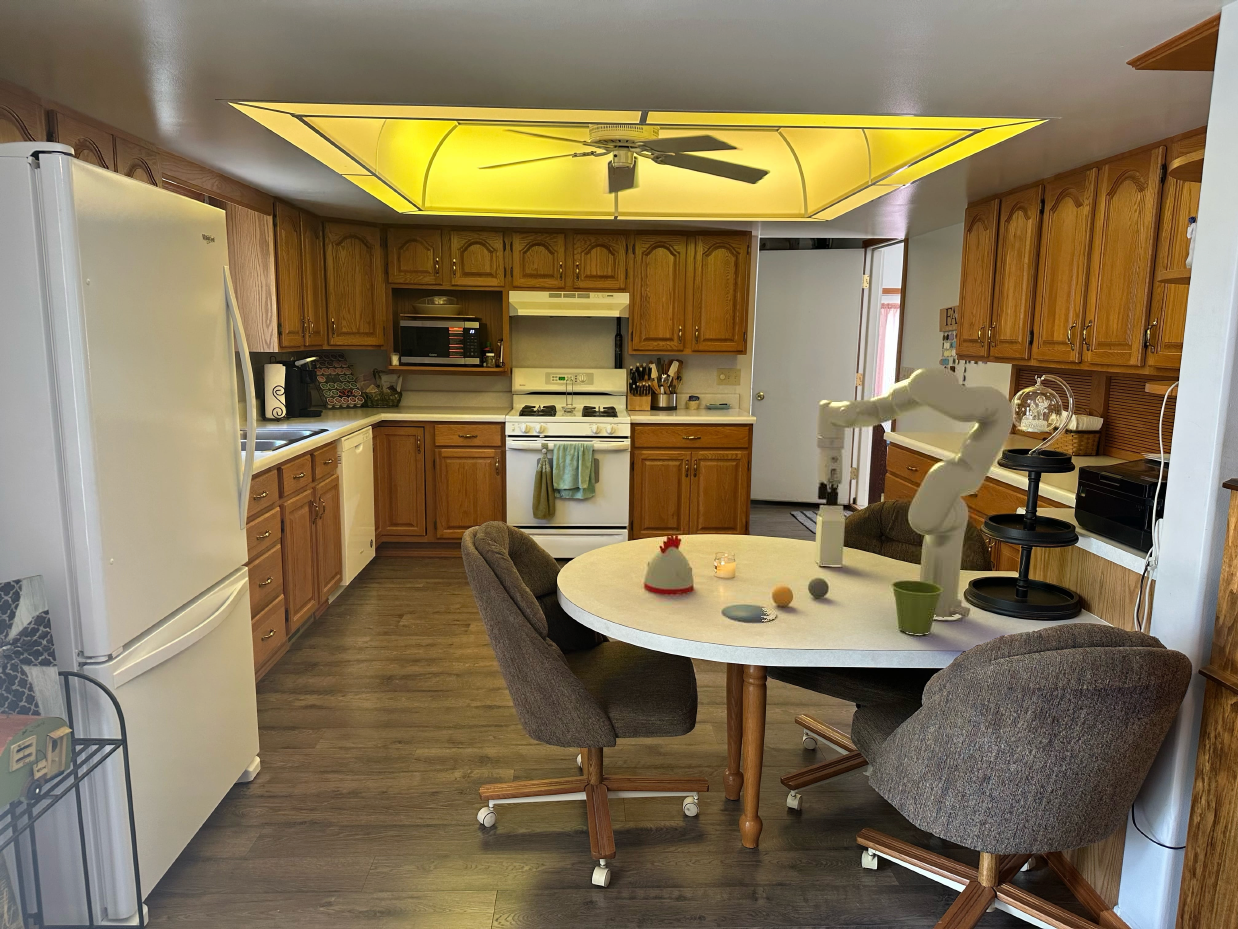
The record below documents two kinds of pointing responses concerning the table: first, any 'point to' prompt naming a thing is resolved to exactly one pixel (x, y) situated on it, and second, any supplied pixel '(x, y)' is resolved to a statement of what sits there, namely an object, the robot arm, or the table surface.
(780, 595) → the object ball
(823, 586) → the gray ball
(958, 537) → the robot arm
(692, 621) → the table surface
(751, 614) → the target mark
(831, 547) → the milk carton
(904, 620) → the plant pot
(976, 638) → the table surface
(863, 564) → the table surface
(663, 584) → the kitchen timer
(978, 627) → the table surface
